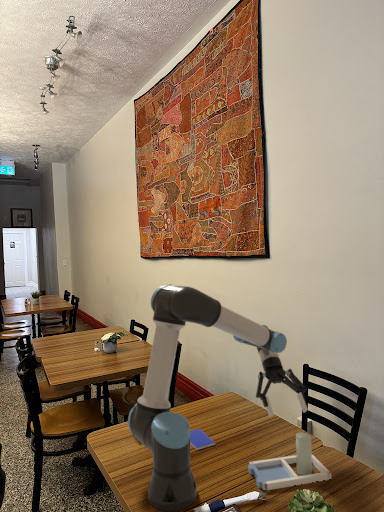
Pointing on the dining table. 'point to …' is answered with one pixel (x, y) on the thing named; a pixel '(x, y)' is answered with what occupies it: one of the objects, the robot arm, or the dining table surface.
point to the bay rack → (284, 473)
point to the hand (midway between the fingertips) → (288, 413)
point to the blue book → (200, 439)
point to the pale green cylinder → (303, 453)
